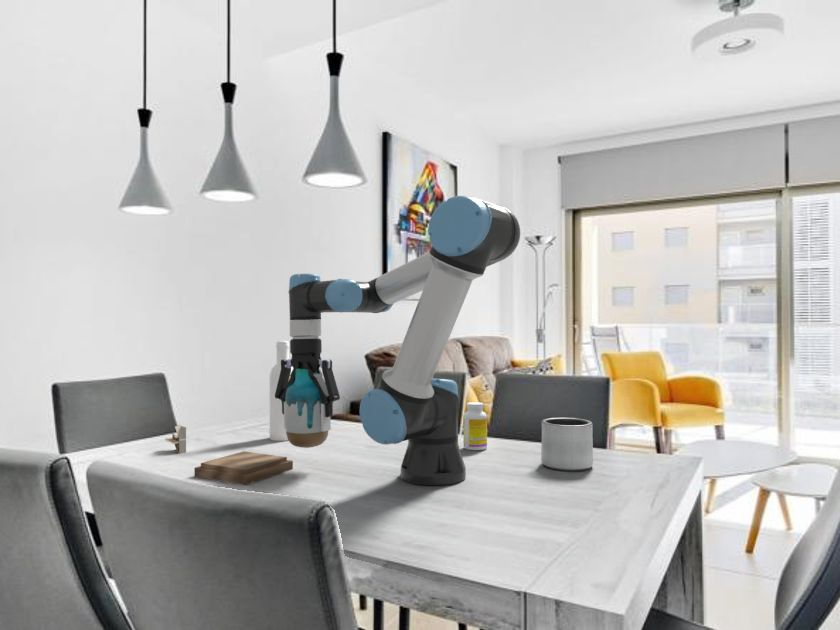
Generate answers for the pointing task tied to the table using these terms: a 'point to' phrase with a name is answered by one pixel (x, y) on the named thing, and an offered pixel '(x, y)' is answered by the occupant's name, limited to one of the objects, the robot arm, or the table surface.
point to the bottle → (276, 414)
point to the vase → (303, 412)
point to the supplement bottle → (475, 427)
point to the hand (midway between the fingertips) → (307, 429)
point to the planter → (567, 444)
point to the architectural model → (179, 439)
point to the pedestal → (243, 467)
